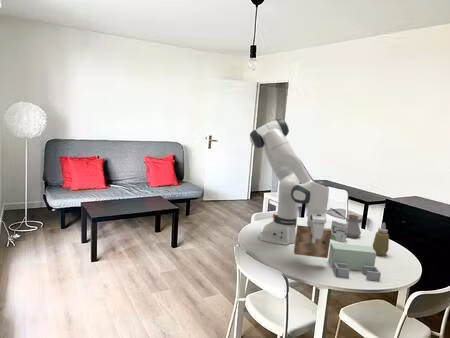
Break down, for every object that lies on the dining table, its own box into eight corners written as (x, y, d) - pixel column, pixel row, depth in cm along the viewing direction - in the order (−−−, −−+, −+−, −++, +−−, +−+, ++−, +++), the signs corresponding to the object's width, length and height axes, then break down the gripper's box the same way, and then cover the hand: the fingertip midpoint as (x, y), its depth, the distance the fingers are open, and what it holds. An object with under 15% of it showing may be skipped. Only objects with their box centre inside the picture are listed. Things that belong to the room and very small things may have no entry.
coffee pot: (362, 235, 211) (365, 213, 209) (356, 240, 203) (360, 217, 200) (330, 227, 225) (333, 205, 222) (323, 231, 216) (326, 209, 213)
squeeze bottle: (386, 258, 178) (391, 226, 175) (370, 254, 183) (375, 223, 180) (388, 253, 185) (392, 222, 182) (372, 249, 189) (377, 219, 186)
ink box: (329, 238, 204) (331, 219, 202) (332, 236, 207) (335, 218, 205) (342, 242, 198) (345, 223, 196) (346, 240, 202) (348, 222, 200)
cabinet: (380, 281, 152) (383, 260, 150) (335, 276, 154) (338, 256, 152) (368, 264, 169) (371, 246, 167) (328, 260, 171) (330, 242, 169)
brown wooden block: (294, 255, 161) (298, 228, 159) (293, 251, 166) (297, 225, 163) (327, 259, 160) (332, 231, 158) (326, 255, 164) (330, 228, 162)
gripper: (306, 207, 170) (302, 232, 172) (313, 219, 150) (309, 248, 152) (318, 208, 170) (315, 233, 172) (327, 221, 149) (323, 249, 152)
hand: (312, 240), depth 162 cm, fingers closed on brown wooden block, 3 cm apart
